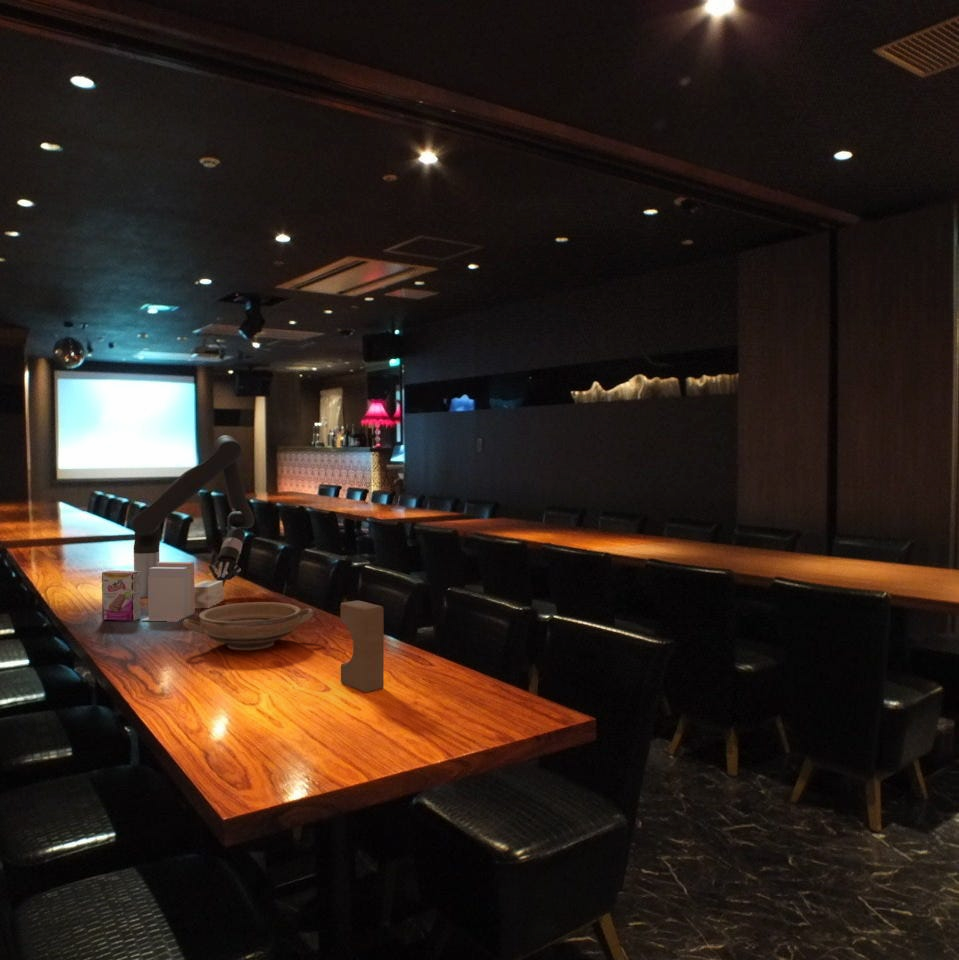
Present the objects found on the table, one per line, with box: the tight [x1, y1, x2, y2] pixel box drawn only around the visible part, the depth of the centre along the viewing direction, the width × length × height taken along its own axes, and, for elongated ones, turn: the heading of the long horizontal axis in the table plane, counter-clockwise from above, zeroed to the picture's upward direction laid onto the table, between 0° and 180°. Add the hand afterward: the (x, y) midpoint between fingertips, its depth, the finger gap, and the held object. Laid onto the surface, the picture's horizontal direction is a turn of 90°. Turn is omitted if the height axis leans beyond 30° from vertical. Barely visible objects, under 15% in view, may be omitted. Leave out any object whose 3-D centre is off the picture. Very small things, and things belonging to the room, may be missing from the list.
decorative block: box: [340, 600, 385, 694], centre depth 191 cm, size 11×6×20 cm, turn 42°
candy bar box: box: [101, 569, 141, 622], centre depth 264 cm, size 11×5×16 cm, turn 84°
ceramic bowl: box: [182, 601, 314, 652], centre depth 231 cm, size 37×29×10 cm
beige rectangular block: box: [194, 580, 224, 609], centre depth 290 cm, size 7×14×8 cm, turn 177°
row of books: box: [141, 561, 196, 623], centre depth 268 cm, size 12×14×18 cm
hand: (218, 587), depth 302 cm, fingers closed
